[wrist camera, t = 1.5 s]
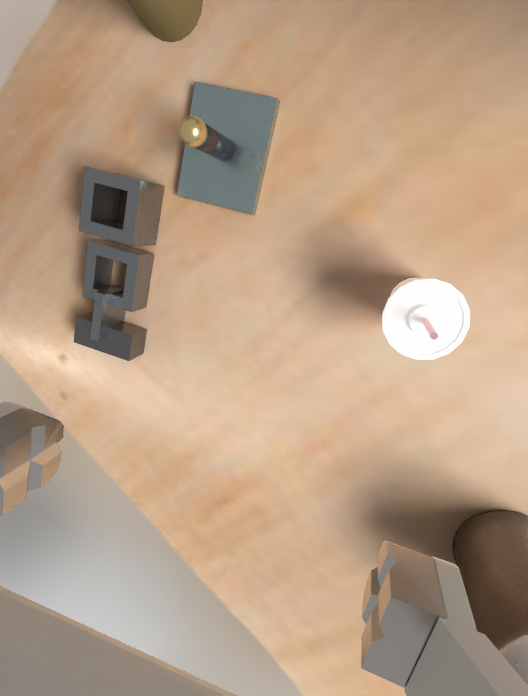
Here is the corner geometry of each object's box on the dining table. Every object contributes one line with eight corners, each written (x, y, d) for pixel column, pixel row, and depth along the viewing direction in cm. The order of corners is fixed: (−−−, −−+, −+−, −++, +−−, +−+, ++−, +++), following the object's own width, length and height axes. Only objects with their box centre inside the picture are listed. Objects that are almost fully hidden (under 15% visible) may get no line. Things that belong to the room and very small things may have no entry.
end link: (113, 173, 43) (84, 166, 39) (164, 186, 42) (140, 180, 38) (106, 231, 45) (78, 230, 40) (155, 245, 44) (132, 245, 39)
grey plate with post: (199, 85, 38) (149, 42, 30) (280, 101, 37) (251, 61, 28) (181, 195, 42) (131, 185, 33) (254, 214, 40) (222, 209, 32)
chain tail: (101, 239, 45) (74, 239, 41) (158, 255, 44) (136, 257, 40) (91, 335, 49) (65, 345, 45) (143, 353, 47) (121, 364, 43)
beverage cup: (367, 313, 40) (364, 350, 27) (404, 256, 38) (419, 267, 25) (423, 345, 39) (447, 400, 26) (463, 290, 37) (511, 319, 24)
